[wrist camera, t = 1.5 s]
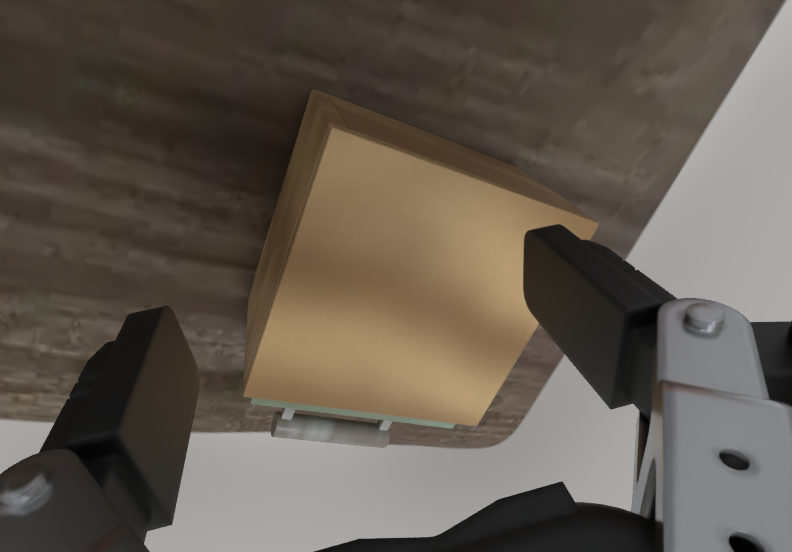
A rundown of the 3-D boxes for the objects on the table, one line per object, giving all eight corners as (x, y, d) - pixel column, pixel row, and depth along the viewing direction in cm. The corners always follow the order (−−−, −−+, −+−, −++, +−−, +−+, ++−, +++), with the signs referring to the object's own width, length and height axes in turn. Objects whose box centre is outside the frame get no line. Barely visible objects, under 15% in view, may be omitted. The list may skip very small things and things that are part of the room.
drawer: (397, 400, 35) (423, 480, 29) (235, 377, 30) (228, 465, 25) (496, 203, 28) (554, 255, 23) (311, 140, 24) (324, 184, 18)
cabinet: (431, 334, 33) (476, 427, 26) (248, 296, 29) (242, 397, 22) (516, 166, 29) (600, 223, 21) (312, 87, 24) (331, 126, 17)
